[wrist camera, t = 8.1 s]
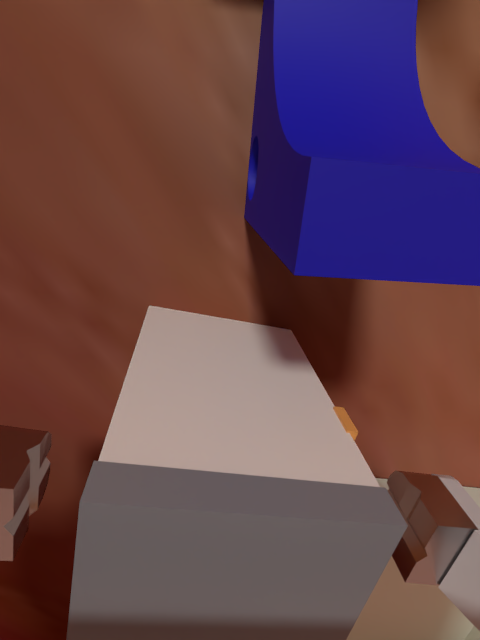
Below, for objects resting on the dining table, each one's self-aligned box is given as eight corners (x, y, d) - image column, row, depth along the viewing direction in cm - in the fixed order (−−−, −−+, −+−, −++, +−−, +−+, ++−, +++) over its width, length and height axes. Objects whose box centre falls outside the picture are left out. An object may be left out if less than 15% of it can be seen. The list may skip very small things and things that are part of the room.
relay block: (128, 430, 13) (59, 706, 6) (147, 303, 11) (79, 502, 5) (260, 444, 14) (319, 699, 7) (296, 329, 12) (414, 526, 5)
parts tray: (258, 644, 19) (267, 712, 16) (327, 473, 15) (352, 531, 12) (452, 645, 21) (484, 705, 18) (560, 496, 17) (618, 549, 14)
